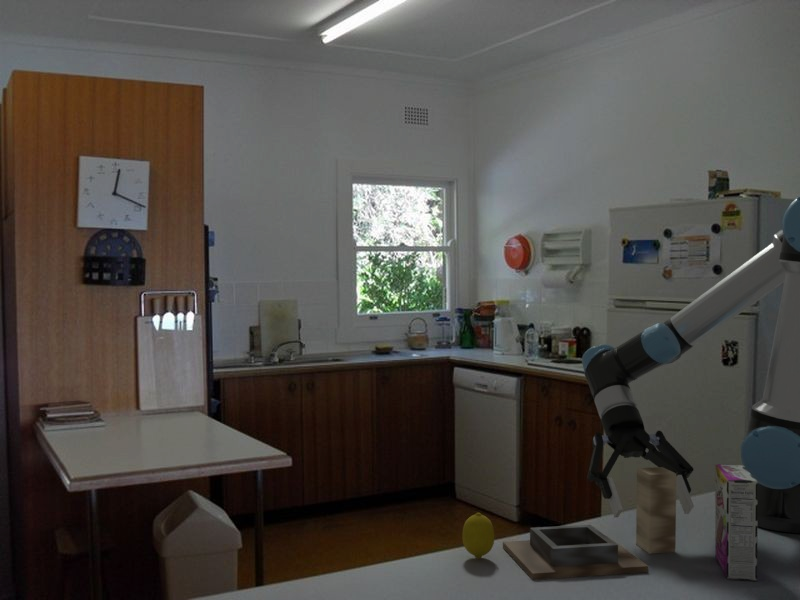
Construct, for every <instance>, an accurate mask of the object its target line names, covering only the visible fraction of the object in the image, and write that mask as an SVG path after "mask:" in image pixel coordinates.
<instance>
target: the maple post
mask: <svg viewBox="0 0 800 600" xmlns="http://www.w3.org/2000/svg"><path fill="white" fill-rule="evenodd" d="M635 515H636V523H635V525H636V528H635V529H636V530H635V533H636V534H635V536H636V538H635V543H636V544H635V545H636V546H637V547H639V548H641V549H642V550H643V551H645V552H646V553H647V554H648V555H649V554H663V553H666V554H667V553H675V552H676V545H677V544H676V540H677V539H676V538H677V535H676V532H677V531H676V530H677V529H676V528H677V527H676V526H677V519H676V517H677V493H676V473H674V472H672V471H670V470H668V469H665V468H663V467H658V466H655V467H636V514H635Z"/></svg>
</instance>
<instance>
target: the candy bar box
mask: <svg viewBox="0 0 800 600" xmlns="http://www.w3.org/2000/svg"><path fill="white" fill-rule="evenodd" d="M714 468H715V471H714V472H715V473H714V474H715V480H714V481H715V485H714V487H715V488H714V489H715V491H714V493H715V494H714V496H715V497H714V498H715V505H714V507H715V512H714V513H715V515H714V516H715V517H714V519H715V520H714V521H715V526H714V527H715V528H714V529H715V537H714V538H715V539H714V540H715V546H714V548H715V549H714V551H715V555H714V556H715V558H716V560H717V562H718V564H719V565H720V568H721V570H722V571H723V573H724V575H725V577H726V579H728V580H732V581H733V580H734V581H750V582H751V581H753V582H758V527H759V526H758V505H757V504H758V500H757V499H758V498H757V494H758V482H757V480H756V479H755V478H754V477H753V476H752V475H751V474H750V472H749V471H748V470H747V469H746V468H745V467H744V466H743V464H742V465H741V464H723V463H719V464H715V467H714Z"/></svg>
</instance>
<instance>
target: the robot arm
mask: <svg viewBox="0 0 800 600" xmlns="http://www.w3.org/2000/svg"><path fill="white" fill-rule="evenodd" d="M781 225H782V228H781V229H779V230H778V231H777V232H776V233H775V234H773V239H772V242H771V243H770V244H768V245H767V246H766V247H765V248H764V247H763V249H761V250H760V251H759V252H758V253H757V254H755V255H754V256H752V257H751V258H749V259H748V260H747V261H745V262H744V263H743V264H741V265H740V266H738V268H736V269H735V270H733V271H732V272H731V273H729V274H728V275H727V276H725V277H724V278H723V279H721V280H720V281H719V282H717V283H716V284H714V285H713V286H712V287H710V288H709V289H707V291H705V292H704V293H702V294H701V295H700V296H698V297H696V298H695V300H693V301H691V302H690V303H689V304H688V305H686V306H685V307H684V308H682V309H681V310H680V311H678V312H677V313H675V314H674V315H672V316H671V317H670V318H669V319H667V320H666V321H664V322H658V323H655V324H653V325H652V326H649V327H646V328H645V329H643V331H641V332H638V334H636V335H634V336H633V337H631V338H629V339H628V340H627V341H625V342H623V343H622V344H620V345H618V346H616V347H614V346H612V345H610V344H606V343H600V344H599V345H597V346H595V345H594V346H592V347H589V348H588V349H587V350H586V351H585V352H584V353H583V354H582V357H581V365H582V367H583V372H584V377H585V380H586V382H587V384H588V386H589V389H590V393H591V396H592V398H593V401H594V405H595V407H596V410H597V413H598V416H599V418H600V422H601V425H602V428H603V431H604V433H605V434H604V435H602V433H601V432H599V431H598V432H596V433H595V434H594V436H593V438H592V440H591V442H592V443H591V444H592V448H593V449H592V454H591V458H590V463H589V468H588V472H587V477H586V480H587V482H591V483H592V482H595V485H596V486H597V487H599V488H600V490H601V495H602V497H603V498H604V500H608V503H609V505H610V508H611V509H610V510H611V511H612V515H613V518H619V517H620V515H621V514H622V512H623V511H624V509H623V508H624V507H623V506H622V502H621V499H620V496H619V493H618V490H617V488H616V485H615V482H614V479H613V477H612V476H611V477H608V476H609V474H610V473H611V470H612V469H613V467H614V465H615V464H616V462H617V460H618V459H619V456H621V457H623V458H624V459H626V458H627V459H628V458H632V457H633V458H643V459H644V460H645V461H650V462H651V463H652V464H654V465H655V467H663V468H665V469H668V470H670V471H672V472H674V473H676V496H677V498H678V500H679V504H680V505H681V508H682V511H683V513H684V515H689V514H690V513H691V511H692V510H693V508H694V507H695V505H694V502H693V499H692V498H691V497H692V496H691V495H690V494H691V492H692V487H691V485H690V483H689V481H688V479H689V477H690V475H692V473H693V472H694V467H693V466H692V465H691V464H690V463H689V462H688V461H687V460H686V458H684V456H682V454H681V453H679V451H678V450H677V449H675V447H674V446H673V445H672V444H671V443H670V442H669V441H668V440H667V438H666V436H665V435H664V433H663V432H662V430H656V432H655V433H648V432H647V431H646V430H645V425H644V421H643V418H642V416H641V412H640V411H639V409H638V405H637V403H636V400H635V398H634V395H633V392H632V390H631V387H630V383H631V382H632V383H633V381H636V380H638V379H639V378H640V377H642V376H645V375H646V374H648V373H650V372H653V370H656V369H657V368H660V367H663V366H665V365H669V364H670V365H671V364H672V363H674V362H676V361H678V360H679V359H680V358H681V357H682V355H684V354H685V353H687V352H688V351H689V350H691V349H692V348H693V347H694V346H696V345H697V344H699V343H700V342H702V341H703V340H704V339H706V338H707V337H709V336H710V335H712V334H713V333H714V332H716V331H717V330H719V329H720V328H722V327H723V326H725V325H726V324H727V323H728V322H730V321H731V320H733V319H734V318H735V317H737V316H738V315H740V314H742V312H744V311H745V310H747V309H748V308H750V307H751V306H753V305H754V304H756V303H757V302H758V301H759V300H761V299H762V298H764V297H765V296H766V295H768V294H770V293H771V292H772V291H774V290H775V289H776V288H778V287H779V286H780V285H782V284H783V287H782V293H781V297H780V304H779V309H778V314H777V319H776V325H775V331H774V334H773V335H774V336H773V340H772V347H771V352H770V358H769V362H768V367H767V373H766V379H765V384H764V389H763V395H762V398H761V400H759V401H757V402H756V403H754V404H752V405H751V410H750V415H749V420H748V421H749V422H748V426H747V431H746V432H747V433H746V436H745V437H744V439H743V440H742V443H741V445H740V460H741V464H742V466H744V467H745V468H746V469H747V470H748V471H749V472H750V474H751V475H752V476H753V477H754V478H755V479H756V480H757V482H758V494H757V498H758V499H757V500H758V504H757V505H758V526H757V527H760V528H762V529H766V530H771V531H775V532H782V533H791V532H792V534H793V533H794V534H800V195H799V196H797V197H796V198H795V199H794V200H793V201H792V202H791V203H790V204H789V205H788V207H787V209H786V210H785V212H784V214H783V218H782V222H781ZM606 444H607V445H608V446H609V447H610V448H611V449H613V452H612V454H611V456H610V457H609V459H608V460H607V463H606V464H605V466H604V468H603V470H602V471H601V472H599V466H600V462H601V456H602V453H603V448H604V447H605V445H606ZM646 450H648V451H646Z"/></svg>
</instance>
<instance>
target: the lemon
mask: <svg viewBox="0 0 800 600" xmlns="http://www.w3.org/2000/svg"><path fill="white" fill-rule="evenodd" d="M495 535H496V534H495V530H494V526H493V523H492V521H491V520H490V519H489V518H488V516H485V515H484V514H482V513H480V512H476V513H475V514H472V515H471V516H470V517H468V518H467V519H466V520H465V522H464V525H463V527H462V536H461V538H462V545H463V547H464V548H465V550H466V551H467V552H468V553H469V554H470V555H472V556H474V557H475V558H476V559H477V560H478V559H479V560H480V559H481V558H482V557H483V556H486V555H487V554H489V553H490V552H491V550H492V548H493V547H494V544H495Z"/></svg>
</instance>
